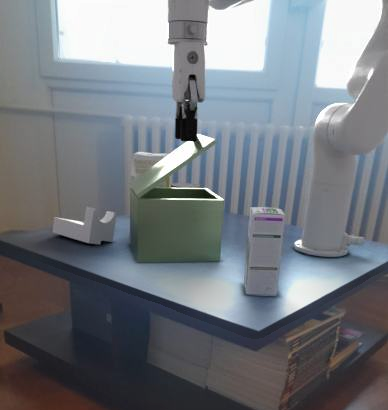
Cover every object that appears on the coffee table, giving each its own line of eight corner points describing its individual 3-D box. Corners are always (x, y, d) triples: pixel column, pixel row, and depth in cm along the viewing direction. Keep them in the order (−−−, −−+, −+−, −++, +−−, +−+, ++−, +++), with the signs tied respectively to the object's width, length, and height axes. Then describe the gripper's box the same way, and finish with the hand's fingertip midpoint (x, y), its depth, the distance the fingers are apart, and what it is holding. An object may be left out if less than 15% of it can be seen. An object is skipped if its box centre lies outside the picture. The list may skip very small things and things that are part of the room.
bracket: (111, 246, 117) (117, 213, 115) (88, 243, 111) (94, 208, 110) (75, 235, 124) (80, 204, 122) (52, 232, 118) (56, 199, 117)
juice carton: (162, 239, 121) (164, 156, 113) (128, 235, 123) (128, 153, 115) (170, 232, 128) (173, 153, 120) (138, 229, 129) (138, 150, 121)
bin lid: (199, 137, 109) (186, 114, 106) (217, 142, 96) (202, 116, 93) (130, 186, 110) (116, 164, 108) (138, 198, 97) (122, 174, 95)
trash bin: (203, 243, 120) (207, 188, 114) (219, 261, 107) (224, 200, 101) (130, 244, 116) (129, 186, 110) (137, 262, 103) (137, 199, 97)
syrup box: (277, 296, 89) (288, 214, 82) (244, 295, 89) (252, 212, 82) (273, 286, 94) (283, 207, 88) (242, 284, 94) (249, 205, 88)
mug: (182, 228, 132) (183, 189, 128) (158, 223, 136) (159, 185, 132) (204, 222, 140) (206, 185, 136) (181, 217, 144) (182, 181, 140)
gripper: (219, 31, 87) (214, 144, 95) (197, 40, 102) (194, 137, 110) (176, 29, 85) (175, 143, 93) (160, 38, 100) (160, 136, 108)
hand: (185, 139), depth 101 cm, fingers closed on bin lid, 5 cm apart
